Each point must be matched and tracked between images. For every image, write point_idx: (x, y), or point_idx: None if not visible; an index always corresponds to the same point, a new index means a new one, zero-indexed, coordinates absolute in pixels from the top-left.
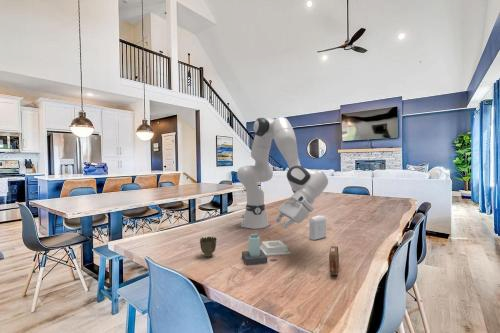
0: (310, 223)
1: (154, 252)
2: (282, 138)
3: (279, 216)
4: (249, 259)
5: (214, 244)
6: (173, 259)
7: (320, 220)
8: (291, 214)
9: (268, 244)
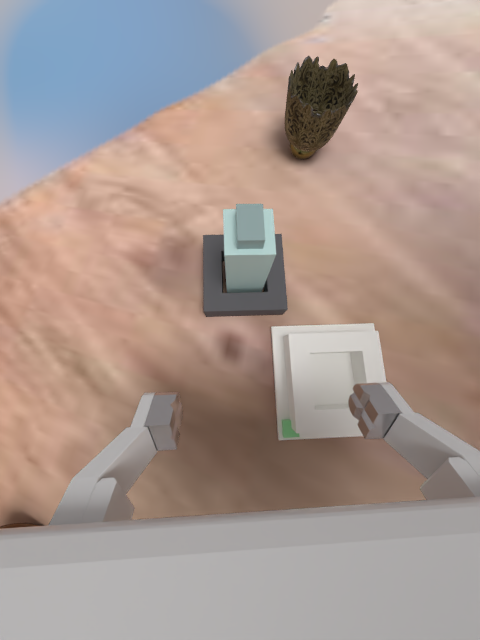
0: None
1: (352, 29)
2: None
3: (420, 441)
4: (203, 247)
5: (298, 120)
6: (292, 70)
7: None
8: (7, 598)
9: (337, 351)
